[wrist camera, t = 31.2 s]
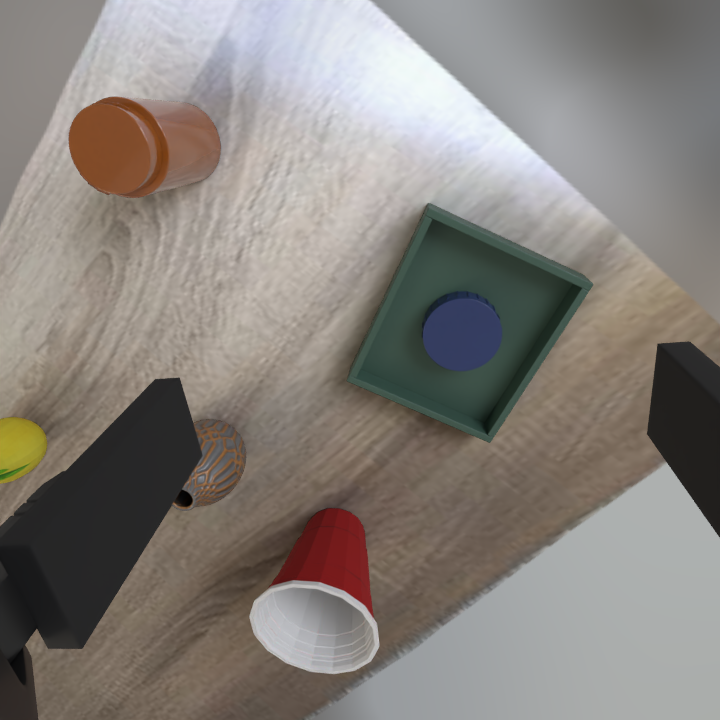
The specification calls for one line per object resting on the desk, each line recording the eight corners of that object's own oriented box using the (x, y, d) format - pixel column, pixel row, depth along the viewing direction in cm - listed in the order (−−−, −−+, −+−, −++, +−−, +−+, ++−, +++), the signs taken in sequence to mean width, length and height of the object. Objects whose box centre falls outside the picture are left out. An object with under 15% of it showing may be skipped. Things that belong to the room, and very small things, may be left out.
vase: (185, 400, 49) (140, 454, 41) (258, 417, 49) (227, 474, 41) (181, 460, 52) (138, 522, 44) (250, 476, 52) (219, 541, 44)
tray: (428, 202, 40) (428, 207, 37) (584, 275, 41) (594, 284, 38) (350, 368, 46) (346, 381, 44) (486, 427, 47) (490, 443, 45)
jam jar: (157, 89, 38) (68, 78, 29) (229, 120, 39) (166, 120, 29) (141, 165, 41) (55, 178, 31) (210, 194, 41) (145, 216, 31)
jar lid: (458, 376, 45) (459, 386, 43) (405, 327, 43) (405, 335, 42) (516, 327, 42) (520, 336, 41) (463, 274, 41) (464, 281, 39)
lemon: (77, 422, 51) (3, 486, 42) (59, 463, 54) (-14, 533, 44) (12, 387, 50) (-78, 445, 41) (-3, 431, 53) (-91, 495, 44)
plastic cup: (260, 519, 54) (219, 619, 43) (341, 469, 50) (319, 565, 39) (328, 586, 57) (306, 696, 46) (409, 543, 53) (407, 652, 42)
